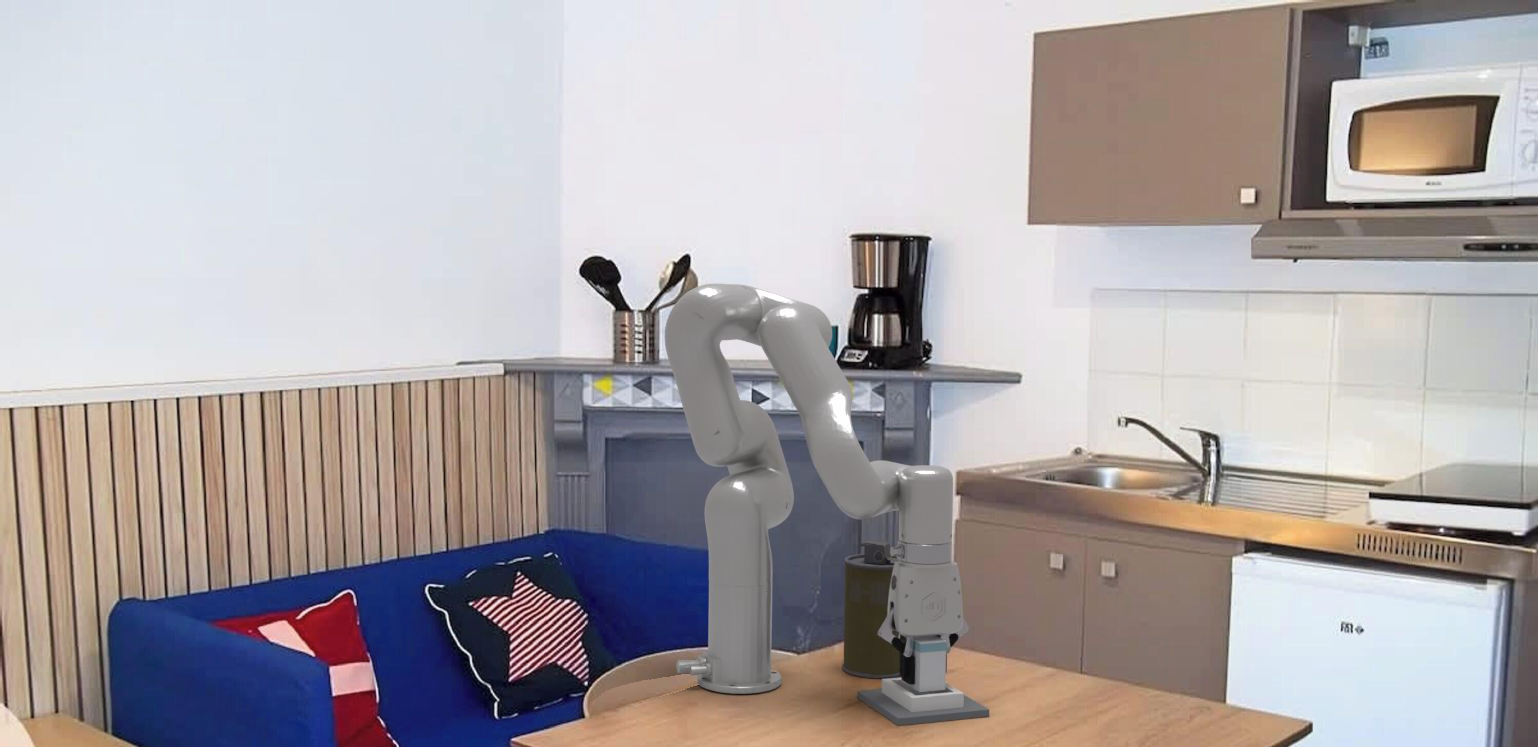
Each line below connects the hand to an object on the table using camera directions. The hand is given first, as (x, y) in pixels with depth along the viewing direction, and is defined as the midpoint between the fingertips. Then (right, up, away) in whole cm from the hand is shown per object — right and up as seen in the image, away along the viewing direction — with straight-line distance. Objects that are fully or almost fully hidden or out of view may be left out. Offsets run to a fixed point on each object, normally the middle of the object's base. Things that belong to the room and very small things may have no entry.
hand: (922, 679), depth 202 cm
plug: (0, -1, 0) cm, 1 cm away
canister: (-5, -3, +20) cm, 21 cm away
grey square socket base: (0, -4, 0) cm, 4 cm away
